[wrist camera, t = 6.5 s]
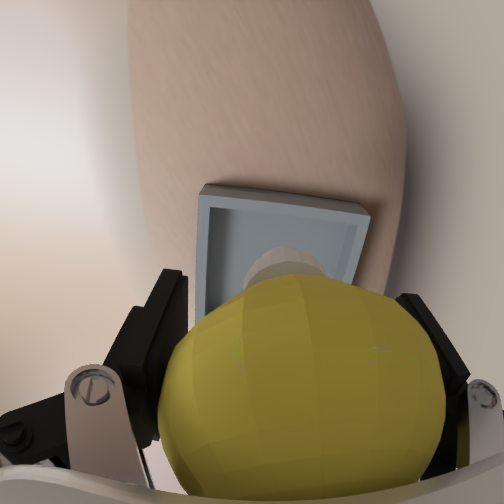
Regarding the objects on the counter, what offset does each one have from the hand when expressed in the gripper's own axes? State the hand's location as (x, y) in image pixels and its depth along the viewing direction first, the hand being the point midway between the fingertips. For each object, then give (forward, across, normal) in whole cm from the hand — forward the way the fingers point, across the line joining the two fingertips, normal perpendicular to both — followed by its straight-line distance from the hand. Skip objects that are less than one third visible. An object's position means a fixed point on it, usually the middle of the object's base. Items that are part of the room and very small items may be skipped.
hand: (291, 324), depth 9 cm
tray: (+20, -2, +8) cm, 22 cm away
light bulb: (+3, 0, 0) cm, 3 cm away
